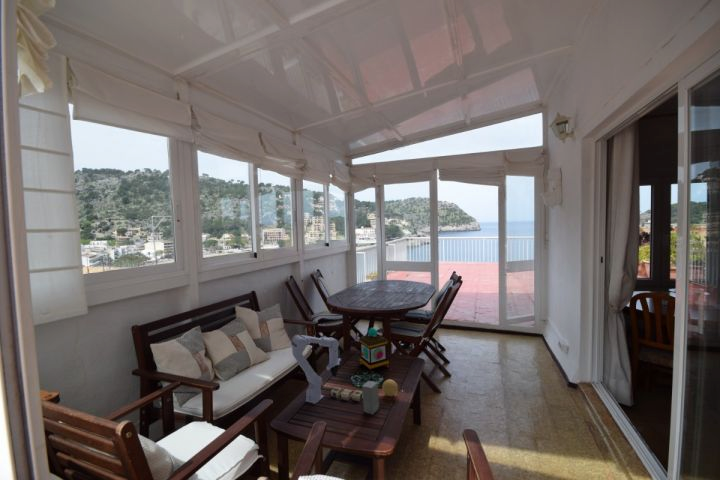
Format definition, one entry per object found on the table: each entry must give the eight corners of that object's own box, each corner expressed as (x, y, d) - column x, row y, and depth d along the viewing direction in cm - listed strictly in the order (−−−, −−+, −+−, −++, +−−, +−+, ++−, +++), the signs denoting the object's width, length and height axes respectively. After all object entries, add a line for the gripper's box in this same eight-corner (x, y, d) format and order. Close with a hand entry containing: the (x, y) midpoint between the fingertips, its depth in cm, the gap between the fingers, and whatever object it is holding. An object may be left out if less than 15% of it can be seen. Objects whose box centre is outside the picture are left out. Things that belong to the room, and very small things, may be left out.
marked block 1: (337, 398, 201) (337, 392, 201) (331, 396, 203) (330, 390, 203) (341, 394, 205) (341, 388, 205) (335, 392, 208) (335, 386, 208)
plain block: (348, 400, 198) (348, 394, 198) (341, 399, 200) (341, 393, 200) (352, 396, 202) (351, 390, 202) (345, 395, 205) (345, 389, 204)
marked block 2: (359, 401, 196) (359, 395, 196) (352, 399, 199) (352, 393, 198) (363, 397, 201) (363, 391, 200) (356, 395, 203) (355, 389, 203)
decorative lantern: (356, 364, 247) (355, 326, 245) (378, 358, 256) (376, 321, 254) (369, 374, 229) (367, 334, 227) (392, 367, 239) (390, 329, 237)
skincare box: (373, 415, 182) (371, 388, 181) (362, 412, 185) (361, 385, 184) (379, 407, 189) (378, 382, 188) (369, 404, 193) (368, 379, 192)
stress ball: (390, 402, 196) (402, 390, 196) (379, 390, 196) (391, 378, 197) (389, 396, 206) (400, 385, 206) (378, 384, 206) (389, 373, 207)
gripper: (332, 361, 202) (333, 382, 202) (344, 352, 214) (345, 372, 215) (323, 359, 205) (324, 380, 206) (335, 351, 218) (336, 370, 219)
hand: (334, 375), depth 211 cm, fingers closed
